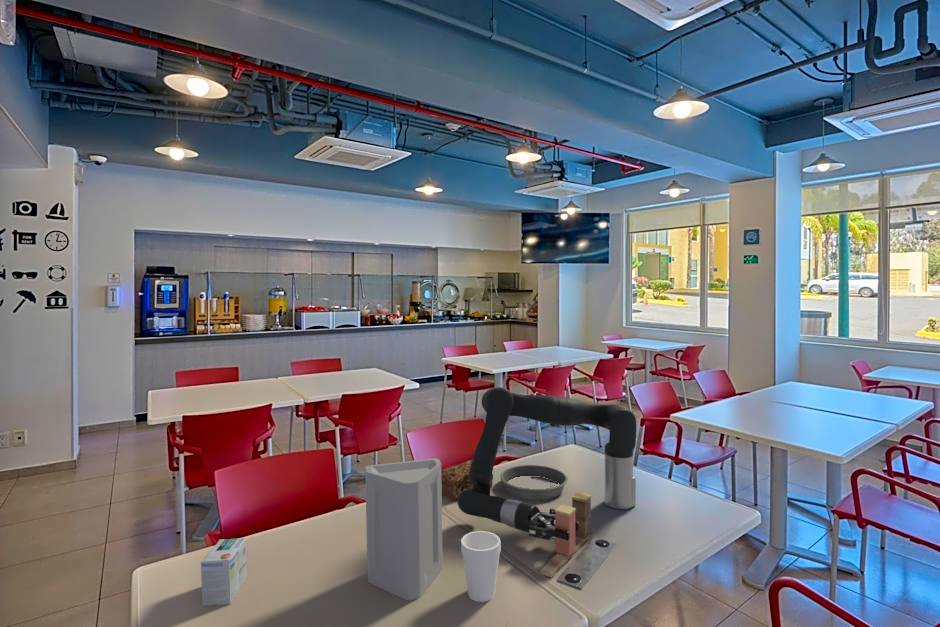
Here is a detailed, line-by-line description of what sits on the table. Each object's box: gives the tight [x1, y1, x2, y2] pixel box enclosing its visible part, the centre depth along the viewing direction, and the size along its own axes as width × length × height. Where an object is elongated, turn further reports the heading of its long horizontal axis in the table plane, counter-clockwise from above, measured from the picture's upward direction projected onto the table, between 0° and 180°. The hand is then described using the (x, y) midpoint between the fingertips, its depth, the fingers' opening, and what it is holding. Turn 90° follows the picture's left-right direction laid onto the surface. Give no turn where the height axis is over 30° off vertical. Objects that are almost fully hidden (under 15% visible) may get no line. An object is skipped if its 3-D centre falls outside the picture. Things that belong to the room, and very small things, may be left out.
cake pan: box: [499, 464, 569, 501], centre depth 180 cm, size 25×25×4 cm
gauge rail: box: [540, 491, 592, 579], centre depth 134 cm, size 25×4×13 cm, turn 145°
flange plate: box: [556, 537, 617, 589], centre depth 131 cm, size 25×6×1 cm, turn 145°
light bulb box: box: [200, 537, 248, 607], centre depth 119 cm, size 11×7×11 cm, turn 5°
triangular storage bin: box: [364, 457, 444, 602], centre depth 122 cm, size 19×15×28 cm
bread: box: [441, 459, 494, 502], centre depth 177 cm, size 19×11×10 cm, turn 128°
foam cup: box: [460, 530, 502, 603], centre depth 117 cm, size 10×9×13 cm
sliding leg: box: [554, 504, 576, 556], centre depth 133 cm, size 4×4×12 cm
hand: (574, 531), depth 132 cm, fingers open, 5 cm apart
